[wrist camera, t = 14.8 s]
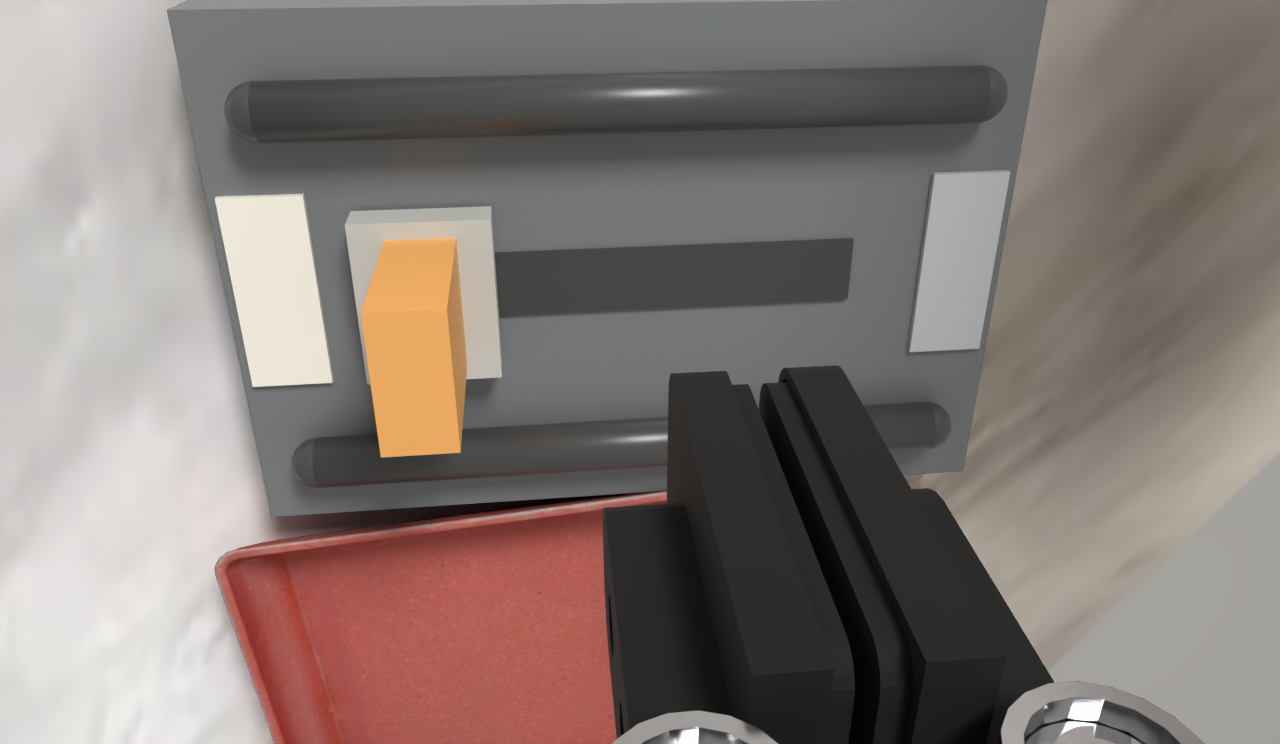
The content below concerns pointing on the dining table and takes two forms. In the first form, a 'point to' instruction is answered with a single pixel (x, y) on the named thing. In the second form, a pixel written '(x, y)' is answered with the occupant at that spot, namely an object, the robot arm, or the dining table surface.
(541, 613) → the plant saucer
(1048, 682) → the robot arm
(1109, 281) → the dining table surface
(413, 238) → the breaker lever
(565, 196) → the switch panel
